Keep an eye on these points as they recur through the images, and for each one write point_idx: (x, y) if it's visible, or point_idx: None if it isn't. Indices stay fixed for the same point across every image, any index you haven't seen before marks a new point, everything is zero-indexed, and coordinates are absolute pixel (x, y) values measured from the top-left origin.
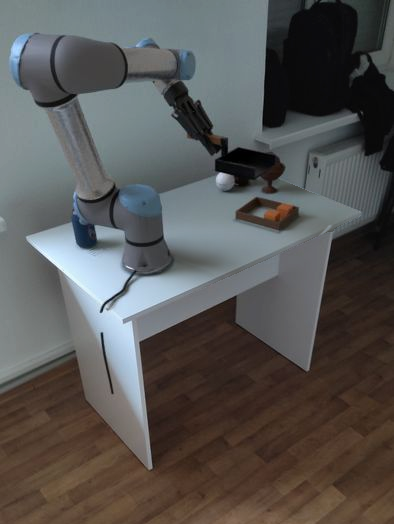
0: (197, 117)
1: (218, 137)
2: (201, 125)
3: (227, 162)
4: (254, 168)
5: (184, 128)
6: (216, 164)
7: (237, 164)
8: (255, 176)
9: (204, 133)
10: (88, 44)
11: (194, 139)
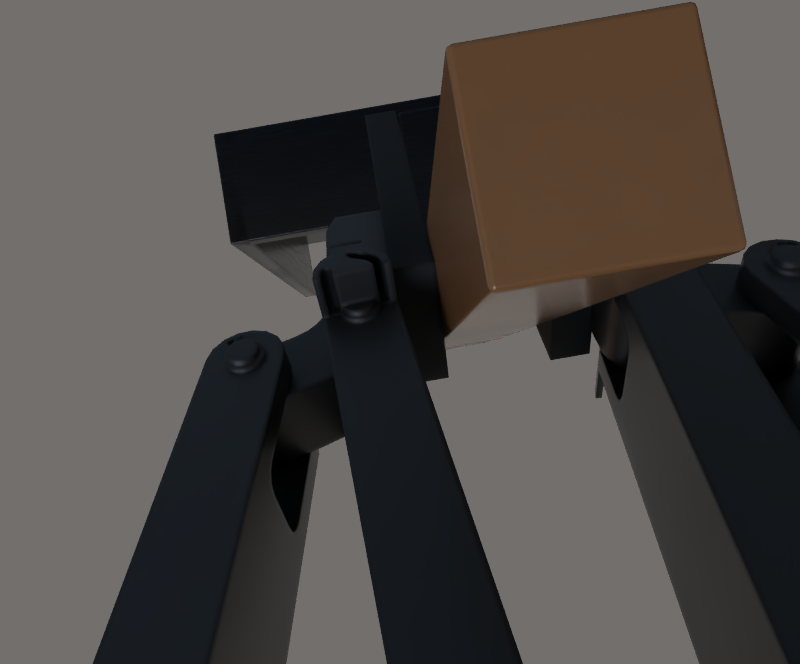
0: (711, 641)
1: (452, 345)
2: (649, 432)
3: (264, 267)
4: (306, 296)
5: (130, 598)
6: (229, 206)
7: (285, 281)
8: (318, 241)
9: (530, 321)
10: None
11: (432, 172)
